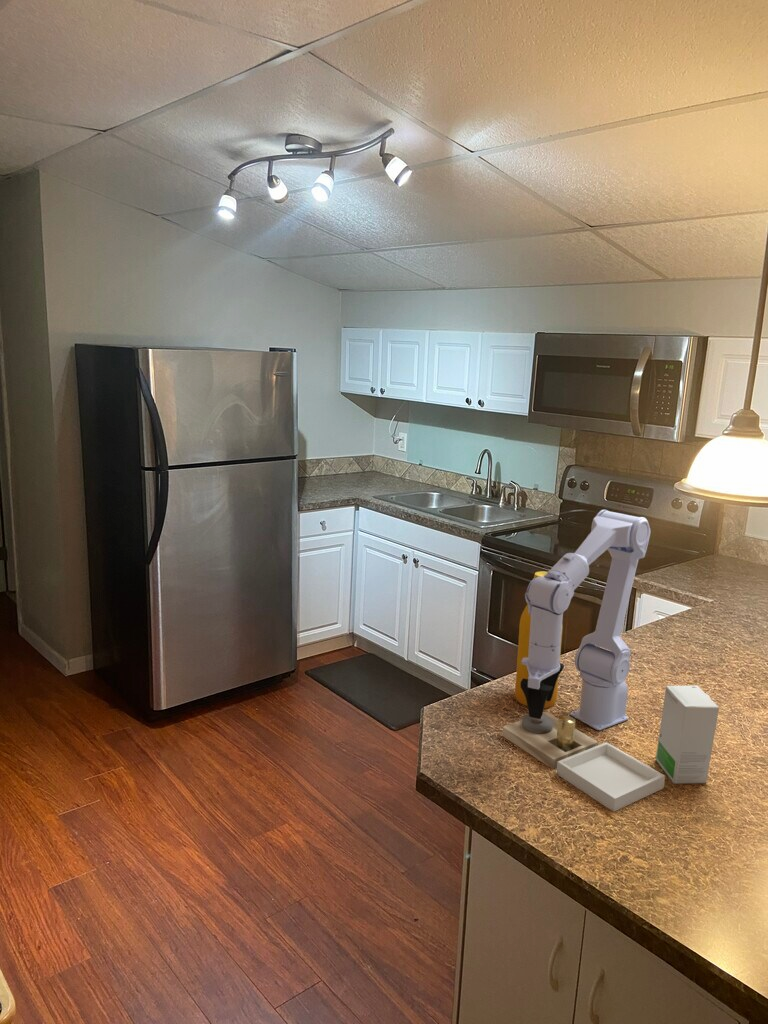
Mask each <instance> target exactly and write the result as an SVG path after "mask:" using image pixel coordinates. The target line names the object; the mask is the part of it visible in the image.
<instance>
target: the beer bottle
mask: <svg viewBox="0 0 768 1024" xmlns="http://www.w3.org/2000/svg"><path fill="white" fill-rule="evenodd" d="M547 572H548V571H544V570H543V571H542V570H541V571H536V572H535V573H534V576H533V579H534V578H537V577H540V576H542V577H544V575H545V574H546V573H547ZM530 622H531V615H529V613H528V604H527V603H526V606H525V607H524V609H523V610H522V613H521V615H520V619H519V628H518V629H519V630H518V631H519V632H518V646H517V658H516V660H517V661H516V673H515V685H514V695H515V699H516V700H517V702H518V703H519V704H522V705H523V706H524V707H528V706H527V701H526V697H525V694H524V692H523V690H522V689H521V685H520V683H521V681H522V679H523V678H524V679H528V677H529V674H528V669H527V666H526V665H523V664H522V659H523V658H528V654H529V637H530ZM562 631H563V624H562ZM562 639H563V632H562V633H561V642H562ZM561 651H562V646H561V647H560V654H561ZM559 662H560V663H561V660H560V661H559ZM559 677H560V675H559V676H558V679H557V682H556V685H555V688H554V692H553V696H552V698H551V700H550V701H546V702H545V706H544V709H547V708H551V707H553V706H554V705H555V704H556V703H557V700H558V694H559V691H558V690H559V689H558V688H559Z"/></svg>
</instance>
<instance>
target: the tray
mask: <svg viewBox="0 0 768 1024" xmlns="http://www.w3.org/2000/svg"><path fill="white" fill-rule="evenodd" d="M556 775H557V776H558V777H560V778H561V779H564V780H565V781H567V782H568V783H569V784H571V785H572V786H573V787H575V788H577V789H578V790H580V791H582V792H583V793H584V794H586V795H588V796H589V797H591V798H592V799H593V800H595V801H596V802H598V803H600V804H601V805H603V806H604V807H606V808H607V809H609V810H611V811H612V812H613V813H614V812H617V811H619V810H621V809H623V808H625V807H627V806H629V805H632V804H633V803H636V802H637V801H639V800H642V799H643V798H646V797H648V796H650V795H652V794H654V793H656V792H658V791H661V790H663V789H664V788H665V787H664V786H665V782H666V781H665V779H666V774H663V773H661V772H659V771H658V770H656V769H654V768H653V767H651V766H649V765H647V764H646V763H644V762H643V761H640V760H638V759H637V758H635V757H633V756H632V755H630V754H628V753H626V752H625V751H623V750H621V749H619V748H618V747H616V746H614V745H613V744H611V743H609V742H607V741H605V742H603V743H601V744H598V746H595V747H593V748H590V749H588V750H585V751H583V752H580V753H578V754H575V755H573V756H570V757H568V758H565V759H563V760H560V761H558V762H557V768H556Z"/></svg>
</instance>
